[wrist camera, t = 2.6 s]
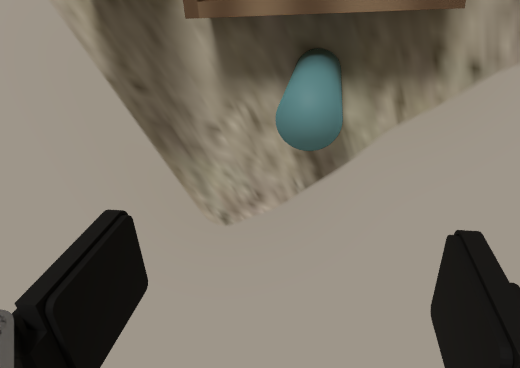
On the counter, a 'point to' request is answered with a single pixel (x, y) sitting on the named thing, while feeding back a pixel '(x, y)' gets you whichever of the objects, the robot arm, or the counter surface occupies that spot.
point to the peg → (312, 102)
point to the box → (306, 7)
